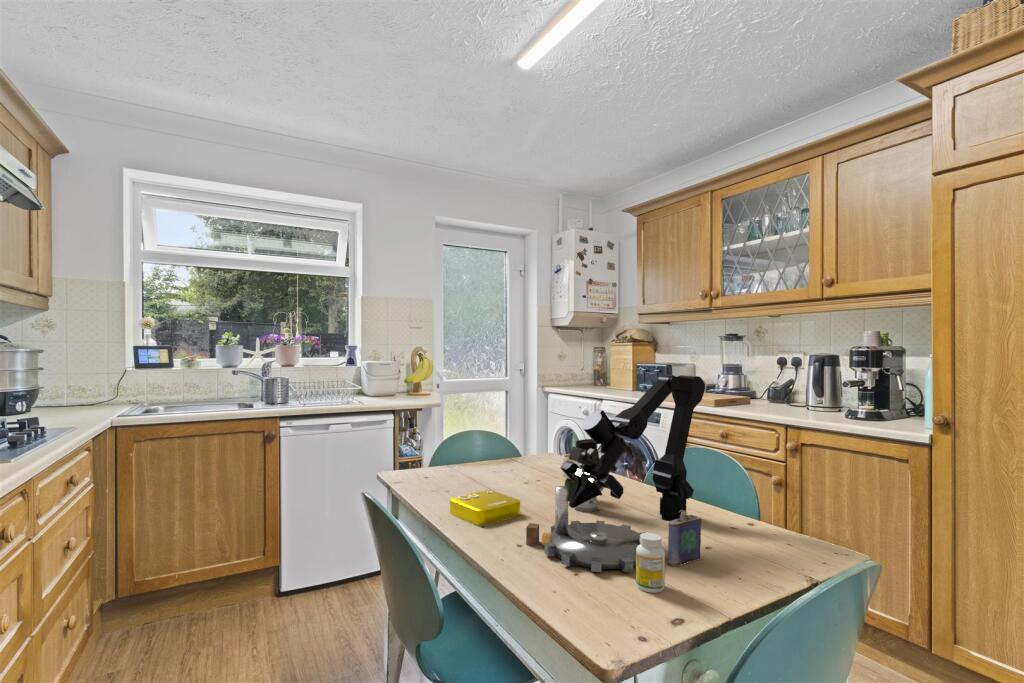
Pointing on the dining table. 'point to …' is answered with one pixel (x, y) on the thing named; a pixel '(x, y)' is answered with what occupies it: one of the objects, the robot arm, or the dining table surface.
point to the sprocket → (590, 540)
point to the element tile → (484, 507)
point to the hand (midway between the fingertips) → (570, 506)
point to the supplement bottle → (650, 563)
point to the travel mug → (584, 445)
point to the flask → (684, 539)
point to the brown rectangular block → (532, 534)
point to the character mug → (568, 481)
